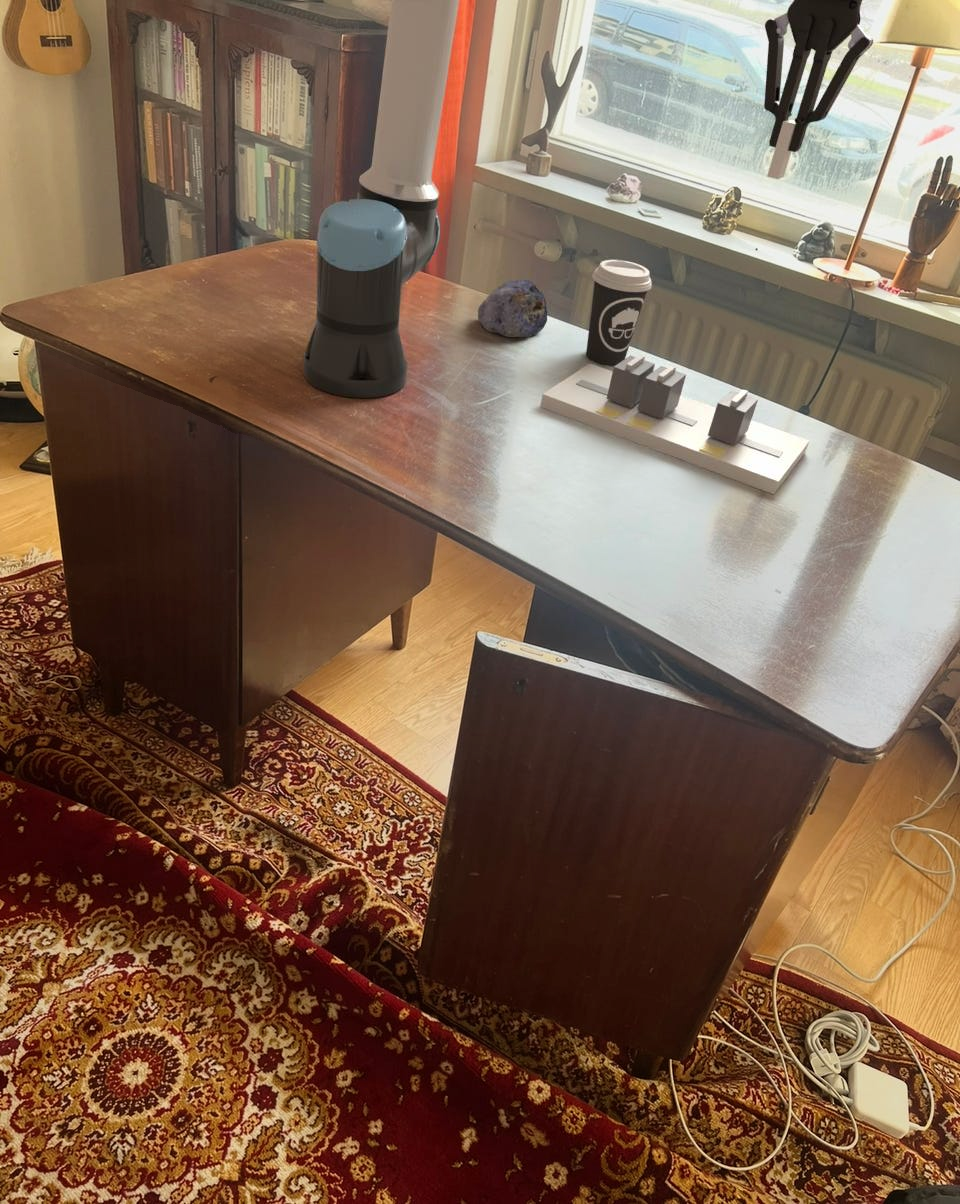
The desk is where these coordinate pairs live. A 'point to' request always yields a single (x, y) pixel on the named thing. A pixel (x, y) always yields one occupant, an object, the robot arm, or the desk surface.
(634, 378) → the slider
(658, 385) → the slider
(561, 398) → the console
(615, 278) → the coffee cup
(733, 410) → the slider
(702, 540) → the desk surface
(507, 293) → the rock
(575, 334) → the desk surface
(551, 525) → the desk surface
